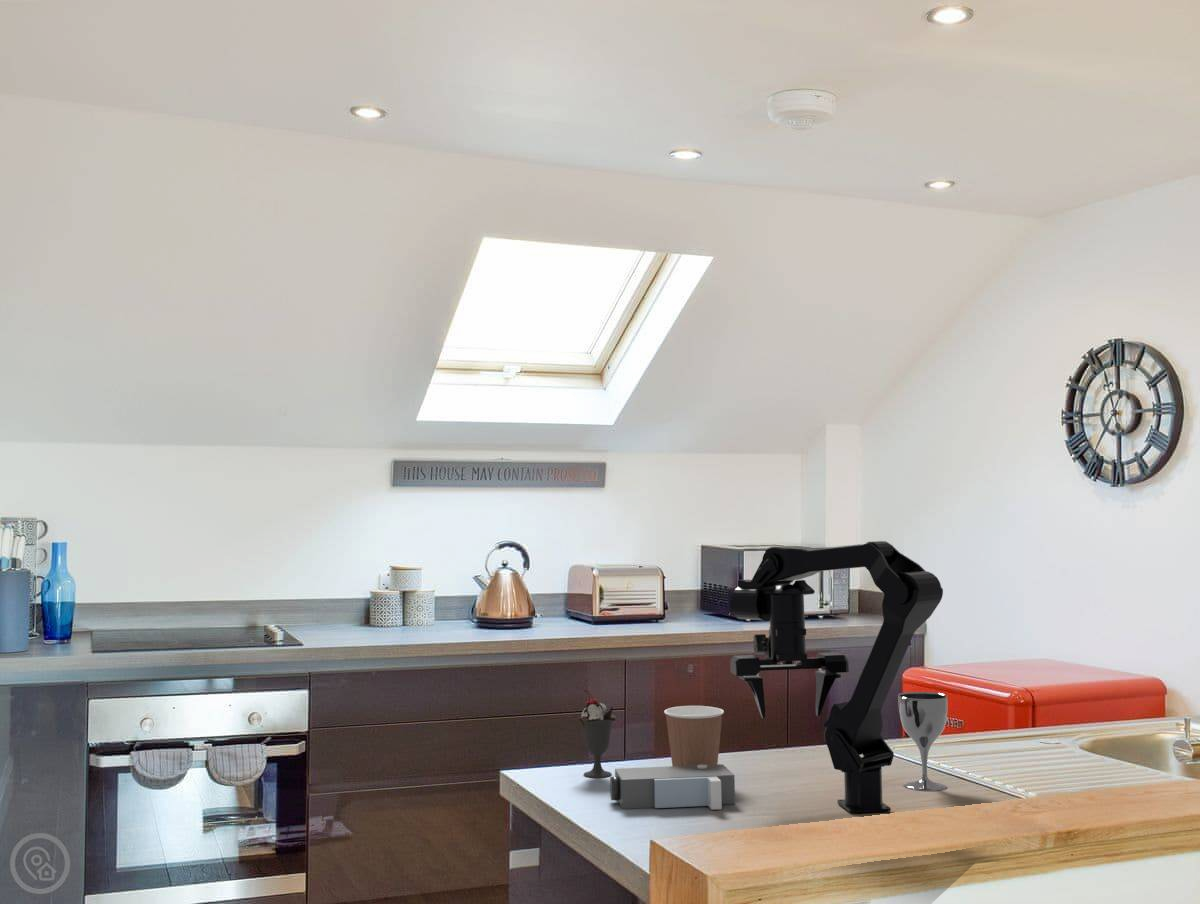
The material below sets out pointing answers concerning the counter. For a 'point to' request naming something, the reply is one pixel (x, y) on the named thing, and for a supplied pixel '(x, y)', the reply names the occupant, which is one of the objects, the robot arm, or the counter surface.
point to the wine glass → (923, 728)
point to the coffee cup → (694, 734)
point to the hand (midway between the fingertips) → (790, 716)
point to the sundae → (596, 733)
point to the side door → (688, 792)
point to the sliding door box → (639, 782)
